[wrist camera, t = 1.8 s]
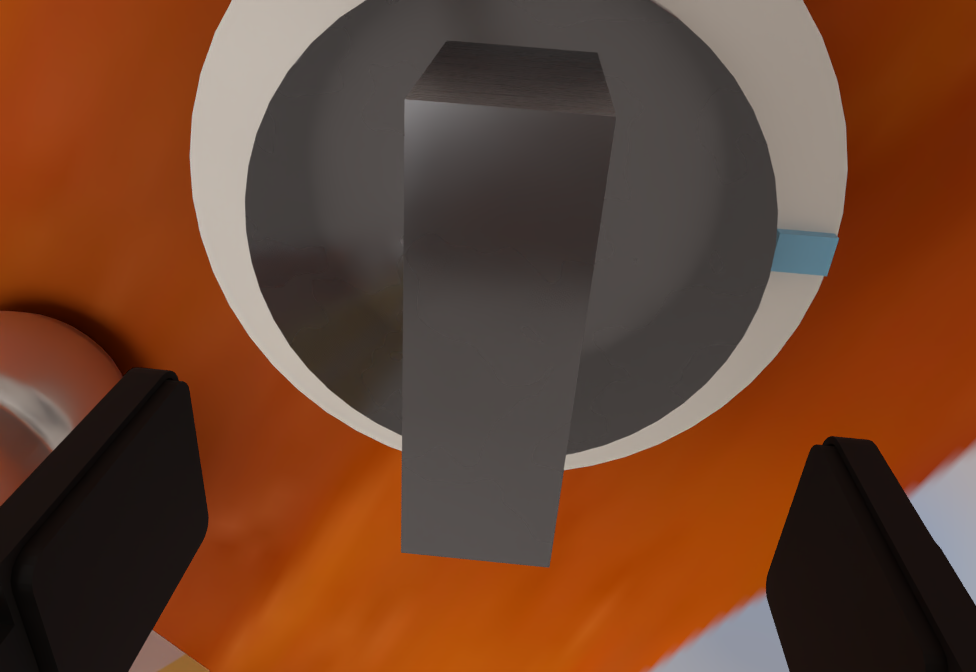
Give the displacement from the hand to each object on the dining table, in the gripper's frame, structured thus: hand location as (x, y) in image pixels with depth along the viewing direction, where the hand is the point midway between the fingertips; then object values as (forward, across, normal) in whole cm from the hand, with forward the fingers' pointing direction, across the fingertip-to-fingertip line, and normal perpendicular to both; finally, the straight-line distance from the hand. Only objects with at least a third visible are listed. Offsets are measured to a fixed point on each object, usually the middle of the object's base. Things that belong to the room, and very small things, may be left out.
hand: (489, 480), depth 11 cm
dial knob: (+8, 0, -1) cm, 9 cm away
